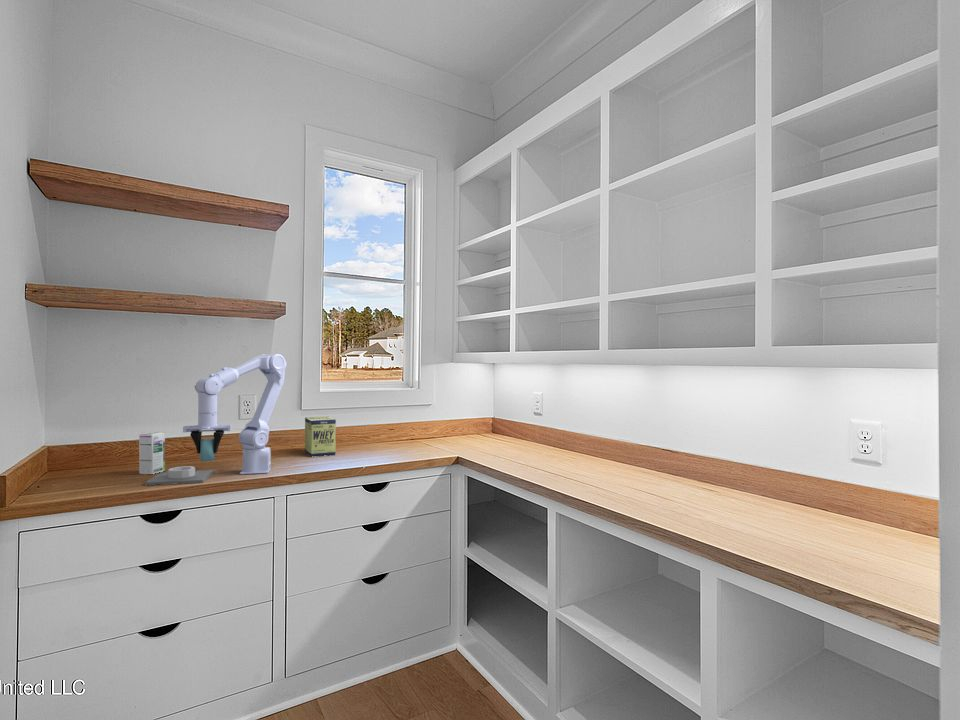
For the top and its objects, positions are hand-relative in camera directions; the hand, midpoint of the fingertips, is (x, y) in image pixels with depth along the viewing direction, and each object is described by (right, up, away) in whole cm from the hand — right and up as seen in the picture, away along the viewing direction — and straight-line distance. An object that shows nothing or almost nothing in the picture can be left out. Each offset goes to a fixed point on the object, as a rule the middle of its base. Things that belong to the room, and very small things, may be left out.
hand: (207, 452), depth 174 cm
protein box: (+22, -10, +53) cm, 58 cm away
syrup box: (-26, -10, +12) cm, 30 cm away
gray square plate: (-10, -9, +3) cm, 14 cm away
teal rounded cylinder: (0, -2, 0) cm, 2 cm away
